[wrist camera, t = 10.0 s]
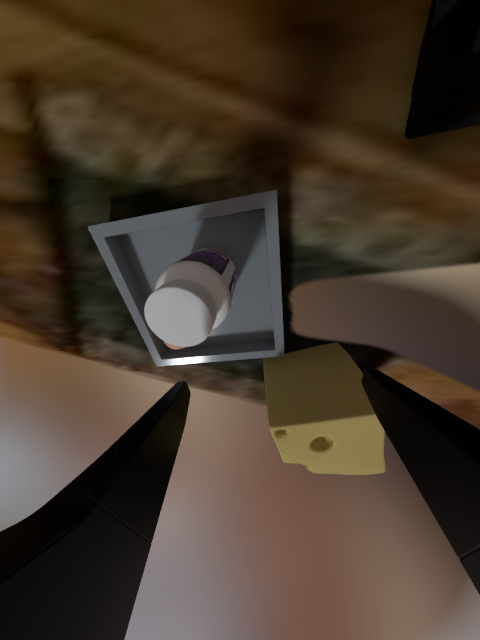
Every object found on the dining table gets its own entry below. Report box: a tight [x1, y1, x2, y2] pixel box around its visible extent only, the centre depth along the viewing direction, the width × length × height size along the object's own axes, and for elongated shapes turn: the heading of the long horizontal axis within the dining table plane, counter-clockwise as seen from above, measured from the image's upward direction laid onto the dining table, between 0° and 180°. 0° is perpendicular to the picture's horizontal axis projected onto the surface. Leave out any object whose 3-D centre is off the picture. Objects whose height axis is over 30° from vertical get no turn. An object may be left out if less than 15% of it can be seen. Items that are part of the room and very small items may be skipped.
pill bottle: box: [144, 248, 237, 347], centre depth 15 cm, size 5×5×10 cm
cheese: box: [264, 342, 385, 475], centre depth 21 cm, size 10×11×10 cm
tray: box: [88, 190, 285, 366], centre depth 19 cm, size 16×16×3 cm
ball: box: [164, 341, 185, 350], centre depth 21 cm, size 3×3×3 cm
